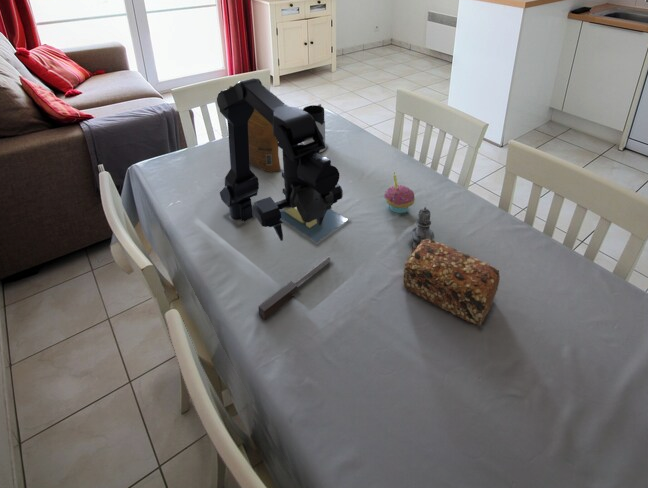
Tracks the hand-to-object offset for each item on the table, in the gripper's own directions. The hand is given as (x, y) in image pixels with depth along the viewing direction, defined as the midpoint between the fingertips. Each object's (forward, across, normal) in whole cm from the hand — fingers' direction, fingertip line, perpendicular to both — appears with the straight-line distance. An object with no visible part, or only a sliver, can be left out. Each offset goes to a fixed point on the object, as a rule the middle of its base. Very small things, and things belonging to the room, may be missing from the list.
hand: (300, 231), depth 94 cm
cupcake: (+13, +35, +8) cm, 38 cm away
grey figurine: (+14, +31, -7) cm, 34 cm away
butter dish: (+13, +11, +18) cm, 25 cm away
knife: (+13, -2, -3) cm, 14 cm away
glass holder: (+6, +33, +55) cm, 64 cm away
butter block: (+12, +9, +21) cm, 26 cm away
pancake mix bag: (+13, +10, +52) cm, 55 cm away
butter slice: (+12, +11, +15) cm, 22 cm away
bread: (+14, +25, -22) cm, 36 cm away
